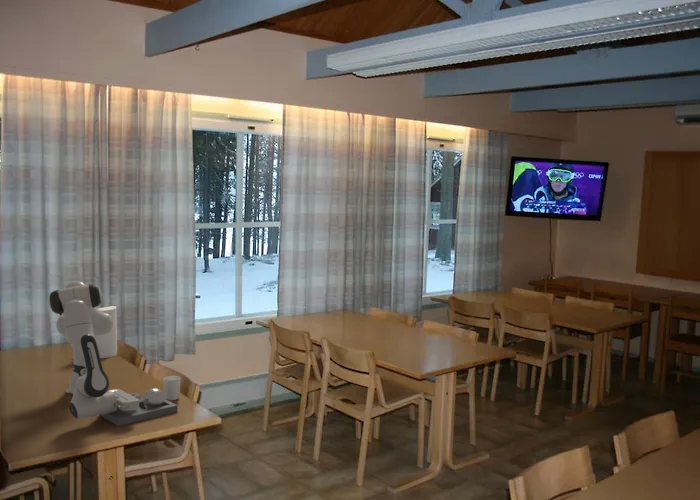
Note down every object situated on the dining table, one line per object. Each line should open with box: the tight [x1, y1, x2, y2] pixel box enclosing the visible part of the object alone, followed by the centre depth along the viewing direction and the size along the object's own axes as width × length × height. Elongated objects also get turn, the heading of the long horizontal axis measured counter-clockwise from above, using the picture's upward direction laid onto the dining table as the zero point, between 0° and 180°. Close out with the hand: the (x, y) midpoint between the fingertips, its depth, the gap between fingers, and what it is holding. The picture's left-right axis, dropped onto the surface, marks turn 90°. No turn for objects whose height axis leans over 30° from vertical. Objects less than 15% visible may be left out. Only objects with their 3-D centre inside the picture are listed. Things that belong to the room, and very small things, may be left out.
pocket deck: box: [99, 398, 178, 427], centre depth 300 cm, size 28×18×3 cm, turn 134°
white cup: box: [163, 375, 181, 401], centre depth 321 cm, size 8×8×10 cm
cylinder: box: [94, 305, 118, 359], centre depth 396 cm, size 17×17×28 cm
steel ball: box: [141, 387, 165, 410], centre depth 304 cm, size 10×10×10 cm
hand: (139, 395), depth 300 cm, fingers closed
